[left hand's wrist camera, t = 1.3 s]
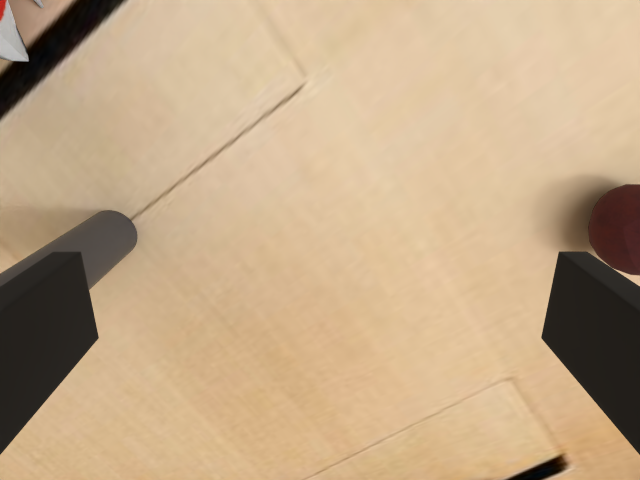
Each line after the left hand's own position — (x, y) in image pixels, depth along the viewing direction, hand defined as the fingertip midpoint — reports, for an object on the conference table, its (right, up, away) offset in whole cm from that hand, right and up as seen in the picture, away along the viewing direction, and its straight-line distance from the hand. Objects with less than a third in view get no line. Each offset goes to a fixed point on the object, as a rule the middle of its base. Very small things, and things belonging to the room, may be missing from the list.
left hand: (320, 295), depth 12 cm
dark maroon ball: (+27, +4, +28) cm, 39 cm away
